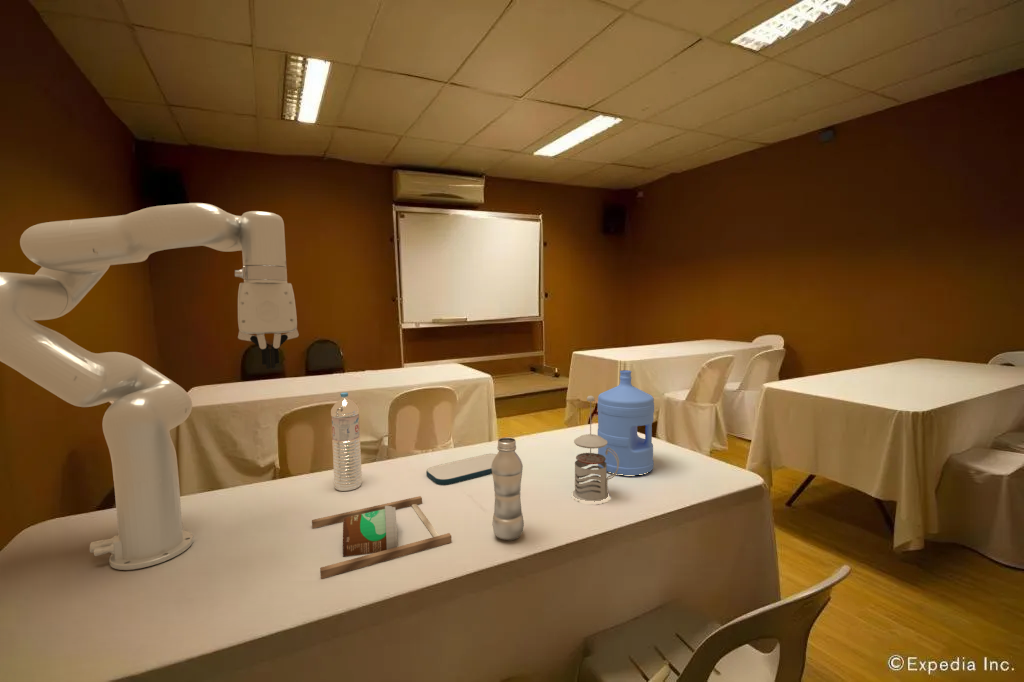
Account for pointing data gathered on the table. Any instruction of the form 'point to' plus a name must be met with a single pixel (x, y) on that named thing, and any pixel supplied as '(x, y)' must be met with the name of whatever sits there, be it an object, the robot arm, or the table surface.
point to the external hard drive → (461, 470)
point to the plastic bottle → (507, 491)
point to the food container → (370, 532)
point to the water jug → (626, 427)
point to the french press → (593, 488)
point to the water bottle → (346, 444)
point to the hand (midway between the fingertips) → (271, 367)
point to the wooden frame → (385, 554)
